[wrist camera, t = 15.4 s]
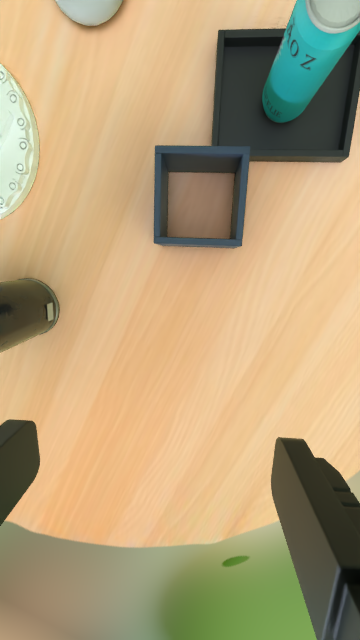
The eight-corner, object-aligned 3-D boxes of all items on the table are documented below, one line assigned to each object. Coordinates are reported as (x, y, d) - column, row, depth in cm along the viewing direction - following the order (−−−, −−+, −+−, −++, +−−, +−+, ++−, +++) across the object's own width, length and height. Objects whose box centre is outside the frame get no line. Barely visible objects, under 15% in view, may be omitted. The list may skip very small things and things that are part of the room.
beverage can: (284, 65, 33) (351, -85, 19) (313, 102, 34) (399, -16, 19) (250, 104, 34) (286, -9, 20) (278, 138, 35) (334, 53, 21)
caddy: (161, 245, 40) (153, 243, 33) (163, 165, 37) (154, 145, 31) (234, 248, 39) (241, 246, 32) (241, 166, 37) (250, 146, 30)
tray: (210, 160, 37) (211, 155, 35) (217, 42, 34) (218, 29, 32) (340, 162, 36) (348, 156, 34) (360, 40, 32) (370, 26, 31)
